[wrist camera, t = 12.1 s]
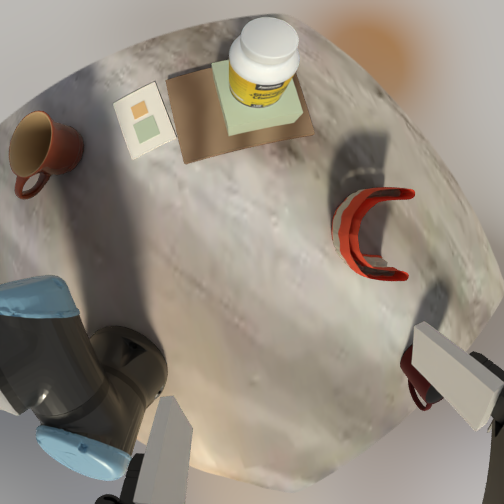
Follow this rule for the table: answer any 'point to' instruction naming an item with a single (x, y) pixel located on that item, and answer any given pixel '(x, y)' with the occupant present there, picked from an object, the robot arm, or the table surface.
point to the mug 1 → (42, 151)
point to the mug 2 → (418, 382)
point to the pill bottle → (263, 62)
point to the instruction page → (144, 120)
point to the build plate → (219, 119)
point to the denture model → (348, 228)
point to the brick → (253, 118)
